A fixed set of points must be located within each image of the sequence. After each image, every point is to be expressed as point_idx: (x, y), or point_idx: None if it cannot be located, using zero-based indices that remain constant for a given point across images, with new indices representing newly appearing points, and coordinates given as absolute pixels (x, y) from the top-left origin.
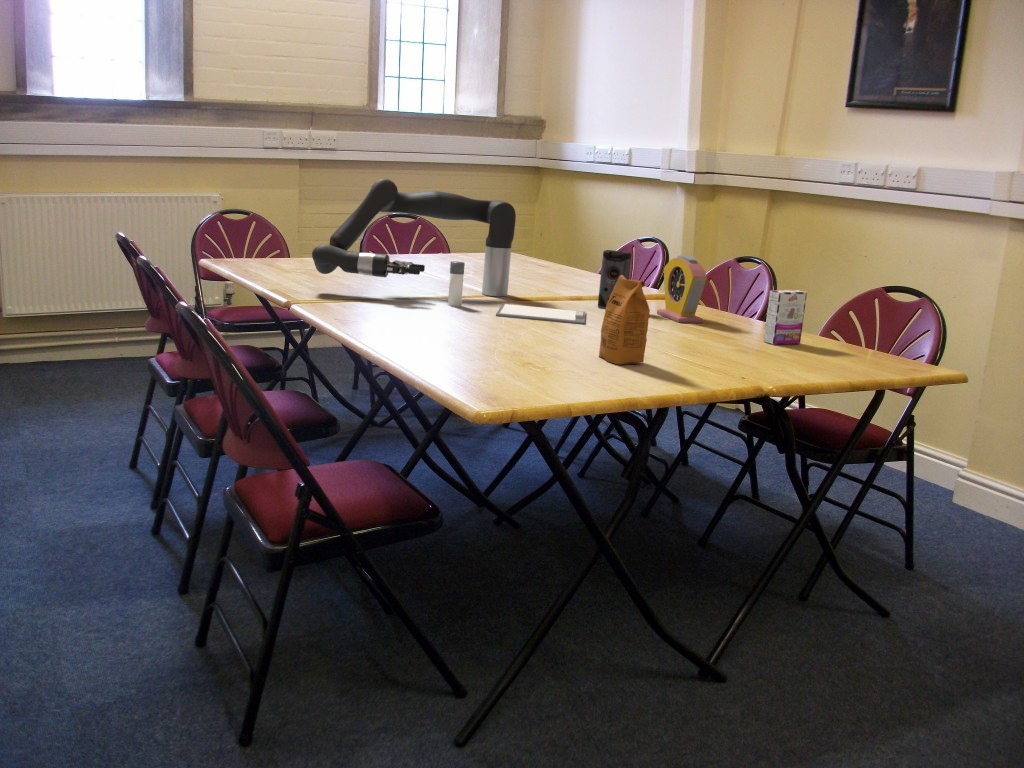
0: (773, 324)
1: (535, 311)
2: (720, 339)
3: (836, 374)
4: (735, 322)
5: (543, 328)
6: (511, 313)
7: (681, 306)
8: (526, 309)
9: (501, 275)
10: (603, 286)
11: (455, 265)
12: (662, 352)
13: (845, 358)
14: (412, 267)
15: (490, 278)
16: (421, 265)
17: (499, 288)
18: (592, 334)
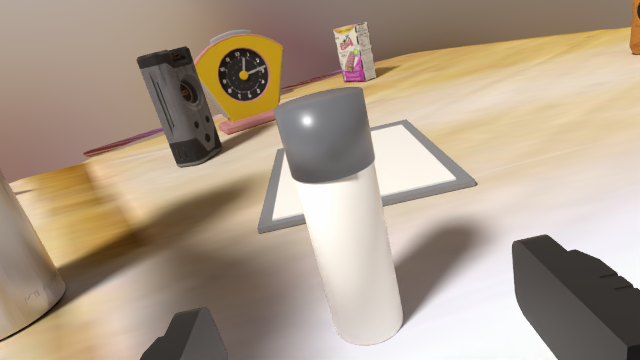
0: (371, 57)
1: None
2: (382, 85)
3: (480, 48)
4: None
5: (530, 119)
6: (432, 168)
7: (274, 96)
8: None
9: (27, 220)
10: (191, 120)
11: (364, 105)
12: (536, 64)
13: (398, 64)
14: (609, 290)
15: (8, 255)
16: (195, 332)
17: (51, 265)
18: (496, 98)
